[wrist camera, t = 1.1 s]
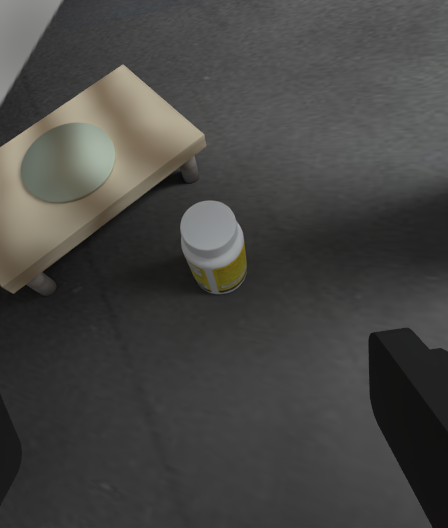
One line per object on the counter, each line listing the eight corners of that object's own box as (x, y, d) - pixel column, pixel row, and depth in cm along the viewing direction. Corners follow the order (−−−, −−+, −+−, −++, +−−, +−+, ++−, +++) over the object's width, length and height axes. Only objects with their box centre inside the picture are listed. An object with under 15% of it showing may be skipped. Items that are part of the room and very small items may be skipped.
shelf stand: (140, 111, 44) (121, 60, 38) (212, 176, 40) (203, 131, 34) (-19, 224, 40) (-68, 188, 34) (42, 310, 36) (-1, 285, 30)
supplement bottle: (251, 249, 36) (247, 199, 29) (242, 299, 35) (236, 259, 27) (199, 243, 37) (182, 192, 29) (188, 291, 35) (167, 250, 28)
